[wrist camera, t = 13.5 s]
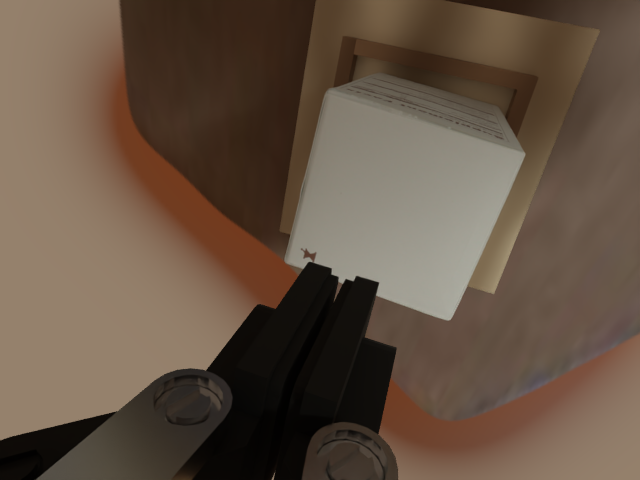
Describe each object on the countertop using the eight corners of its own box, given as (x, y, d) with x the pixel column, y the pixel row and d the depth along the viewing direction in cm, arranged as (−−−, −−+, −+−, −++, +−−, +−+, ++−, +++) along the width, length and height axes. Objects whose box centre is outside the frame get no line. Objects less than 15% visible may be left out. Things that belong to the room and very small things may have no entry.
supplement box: (454, 220, 30) (449, 331, 19) (343, 182, 31) (275, 265, 20) (504, 104, 27) (534, 153, 15) (378, 65, 28) (320, 85, 16)
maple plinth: (582, 30, 28) (606, 29, 23) (490, 267, 35) (494, 303, 30) (336, -17, 30) (313, -26, 26) (296, 212, 37) (273, 237, 32)
